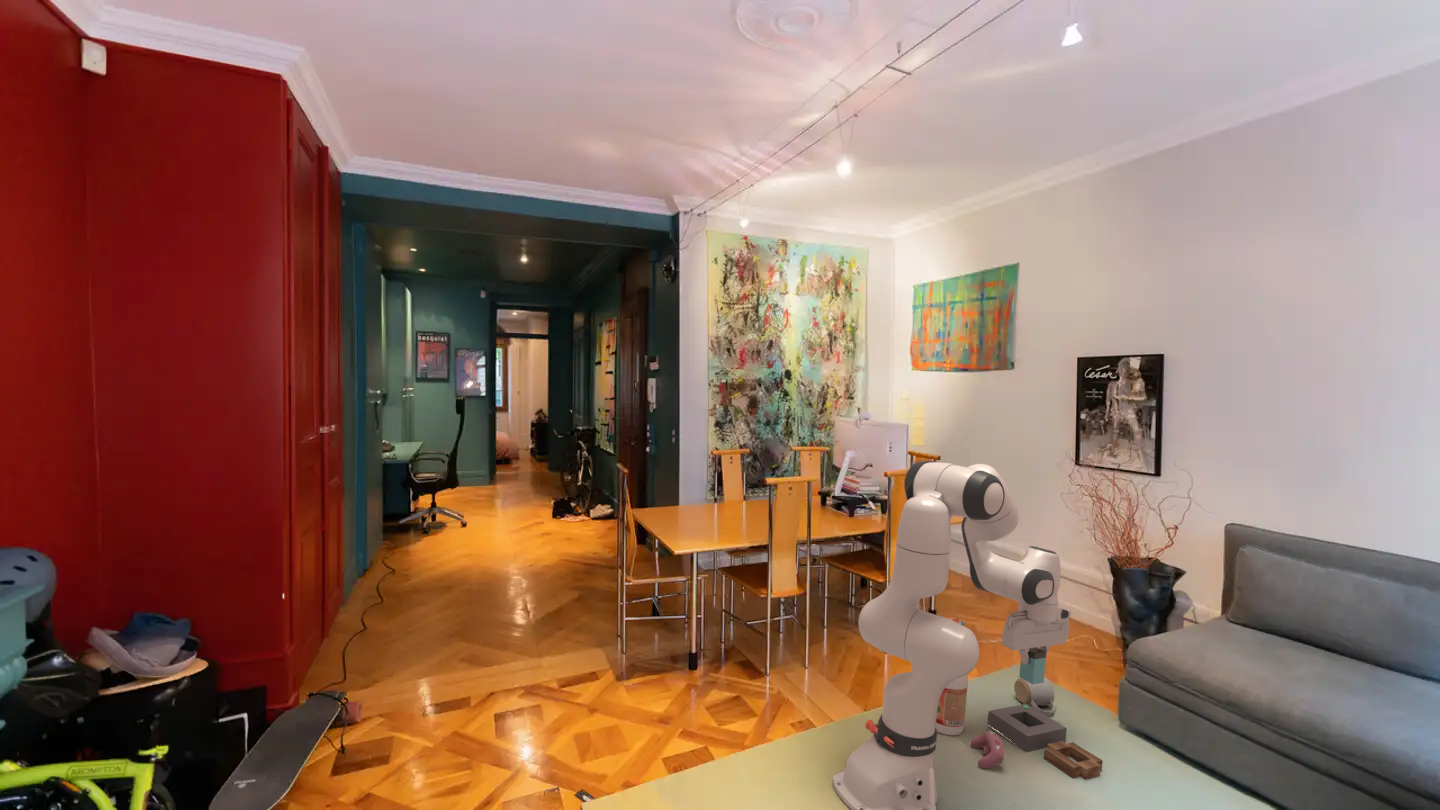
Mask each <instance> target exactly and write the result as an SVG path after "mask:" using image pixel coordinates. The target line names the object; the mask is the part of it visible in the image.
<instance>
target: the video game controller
mask: <svg viewBox="0 0 1440 810" xmlns="http://www.w3.org/2000/svg"><path fill="white" fill-rule="evenodd" d="M1003 744H1004V743H1003V742H1002V739H1001V737H1000V736H999V735H998V733H995V732H993V731H990V730H988V731H984V732H983V733H981V734H980V735H978V736H975V737H973V738H972V739H971V740H970V742H969V745H970V747H971V748H973V749H981V748H983V755H984V756H983V757H981V758H980V759H979V760H978V763H977V766H978V767H979V768H980V767H981V768H980V769H983V768H988V769H991V768H993V767H995V766H997V765H998V764H1000V763H1002V762H1003V761H1004V760H1005V756H1006V755H1005V754H1006V751H1005V749H1004V746H1003Z"/></svg>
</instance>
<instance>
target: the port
mask: <svg viewBox="0 0 1440 810" xmlns="http://www.w3.org/2000/svg"><path fill="white" fill-rule="evenodd" d="M987 724H988V725H990V726H991V727H993V728H994V729H996V730H998V731H999V732H1000V733H1002V734H1003V735H1004V736H1005V737H1007V738H1008V739H1010V740H1011V741H1012V742H1013V743H1015V744H1016V745H1017V747H1018V748H1019V749H1020V750H1022V751H1024V752H1025V753H1030V752H1034V751H1038V750H1042V749H1045V748H1047V744H1050V743H1054V742H1059V741H1063V742H1064V743H1066V742H1067V727H1066V726H1065V725H1063V724H1061V723H1059V722H1058V721H1056V720H1054V719H1052V718H1051V717H1050V716H1046V715H1044V714H1043V713H1041V712H1039V711H1038V710H1036V709H1034V708H1033V707H1032V705H1028V704H1022V703H1021V704H1018V705H1017V704H1016V705H1013V706H1008V707H1007V706H1006V707H1003V708H1002V707H1000V708H996V709H992V710H988V714H987ZM987 724H986V725H987ZM1005 737H1004V738H1005ZM1008 739H1007V740H1008ZM1011 741H1010V742H1011ZM1012 742H1011V743H1012ZM1013 743H1012V744H1013ZM1015 744H1014V745H1015ZM1066 744H1067V743H1066ZM1016 745H1015V746H1016Z"/></svg>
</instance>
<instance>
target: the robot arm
mask: <svg viewBox="0 0 1440 810" xmlns="http://www.w3.org/2000/svg"><path fill="white" fill-rule="evenodd" d="M903 481H904V482H903V483H904V486H903V487H904V493H905V497H906V502H905V503H904V505H903V507H902V511H901V514H900V518H899V523H898V528H897V534H896V544H895V545H896V546H895V554H894V555H895V556H894V564H893V571H892V576H891V579H890V582H889V583H888V585H887V587H886V589H885V590H884V591H883V592H882V593H881V594H880V595H879V596H877V597H875V598H873V599H871V600H869V601H868V602H867V603H866V604H865V605H864V606H863V607H862V608H861V611H860V613H859V615H858V622H857V623H858V630H859V634H860V636H861V638H862V639H863V641H865V642H867V643H868V644H869V645H871V646H873V647H874V648H876V649H877V650H880V651H881V652H884V653H886V654H889V655H891V656H894V657H897V658H899V659H902V660H905V661H908V662H909V663H910V664H911V666H912V669H911V671H908V672H906V671H905V672H901V673H897V674H893V676H890V678H888V680H887V681H886V683H885V685H884V689H883V690H884V691H883V703H882V713H881V715H880V717H879V719H878V721H877V724H876V723H875V722H874V721H873V720H872V719H868V720H867V721H866V722H865V724H864V727H865V728H866V729H867V730H868V731H869V732H870V733H871V734H873V735H872V736H871V737H869V738H868V739H867V740H866V741H865V742H864V743H862V745H860V746H859V747H858V748H857V749H855V750H854V751H853V752H852V753H851V754H849V756H848V758H847V761H846V764H845V766H844V767H845V768H844V770H843V771H840V772H838V773H836V774H833V776H832V786H833V788H834V790H835V792H836V794H837V795H838V797H839V798H840V799H841V800H842V802H843V803H844V804H845V805H846V807H848V808H849V809H850V810H937V807H936V805H937V803H938V799H939V796H938V791H937V787H936V777H935V758H934V757H935V756H934V755H935V754H934V753H935V751H936V749H937V743H938V739H937V737H938V732H937V730H936V727H935V725H936V716H937V710H938V704H939V699H940V696H941V694H942V692H943V690H944V689H945V687H946V686H947V685H948V684H949V683H951V682H952V681H954V680H955V679H958V678H960V677H963V676H966V675H967V674H970V673H971V672H972V671H974V669H975V667H976V666H977V664H978V662H979V657H980V646H979V641H978V638H977V637H976V634H975V633H974V631H973V630H971V629H970V628H968V627H966V626H964V625H963V626H962V625H961V624H959V623H957V622H955V621H953V620H951V619H947V617H944V616H942V615H937V614H934V613H931V612H927V611H925V610H922V609H920V601H921V599H925V598H930V597H934V596H937V595H939V594H941V593H942V592H944V590H945V589H946V588H947V585H948V583H949V572H950V571H949V570H950V561H951V560H950V559H951V547H952V546H951V544H952V543H951V540H952V532H951V531H952V530H951V529H952V527H951V520H952V518H953V516H955V517H960V518H962V521H961V534H962V540H963V543H964V547H965V550H966V555H967V558H968V564H969V577H970V580H971V582H972V583H973V585H974V587H975V588H976V589H977V590H978V591H984V592H986V593H991V594H994V595H998V596H1001V597H1003V598H1006V599H1008V600H1013V601H1015V602H1018V611H1012V612H1010V614H1009V616H1007V618H1006V620H1005V623H1004V625H1003V626H1004V627H1003V631H1002V636H1001V637H1002V638H1001V643H1002V644H1003V646H1005V647H1006V648H1008V649H1009V650H1012V651H1018V652H1019V654H1020V663H1021V662H1022V663H1023V664H1025V665H1026V664H1030V663H1031V662H1030V661H1031V658H1030V657H1028V653H1027V652H1029V648H1035V647H1037V648H1039V649H1041V650H1043V651H1045V652H1046V656H1047V655H1048V653H1049V651H1050V650H1051V646H1055V645H1056V646H1057V645H1064V644H1066V642H1067V641H1068V640H1069V631H1070V620H1069V619H1070V618H1071V614H1072V611H1071V610H1070V609H1067V608H1066V607H1063V606H1061V605H1059V598H1058V591H1059V589H1060V585H1061V559H1060V555H1059V554H1057V552H1055V551H1053V550H1050V549H1046V548H1042V547H1038V546H1031V545H1030V546H1027V547H1026V550H1025V553H1024V556H1023V559H1021V560H1020V561H1018V560H1017V561H1016V560H1014V559H1009V558H1007V557H1003V556H1000V555H998V554H996V553H994V552H993V551H992V550H990V546H989V545H990V544H989V542H997V541H1000V540H1003V539H1005V538H1007V537H1008V536H1010V535H1011V534H1012V533H1013V532H1014V531H1015V530H1016V528H1017V526H1018V523H1019V512H1018V508H1017V505H1016V503H1015V501H1014V498H1013V495H1012V494H1011V492H1010V490H1009V489H1010V488H1008V486H1007V484H1006V482H1005V481H1004V480H1003V478H1002V476H1001V475H1000V474H999V471H997V470H996V469H995V468H994V467H993V466H991V465H988V464H985V463H975V464H972V465H969V466H962V465H959V464H956V463H950V462H942V461H941V462H940V461H939V462H938V461H937V462H936V461H933V460H921V461H917V462H913V464H912V465H911V466H910V467H909V469H908V470H907V471H906V473H905V477H904V480H903Z"/></svg>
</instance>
